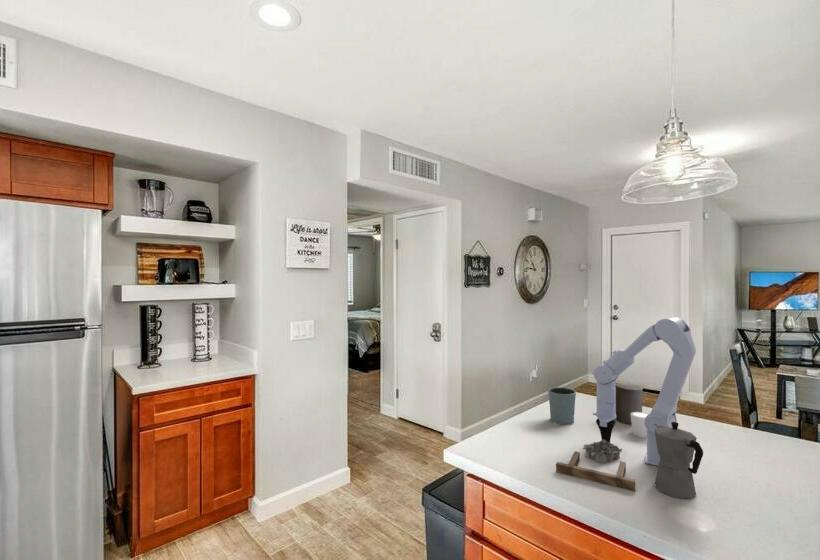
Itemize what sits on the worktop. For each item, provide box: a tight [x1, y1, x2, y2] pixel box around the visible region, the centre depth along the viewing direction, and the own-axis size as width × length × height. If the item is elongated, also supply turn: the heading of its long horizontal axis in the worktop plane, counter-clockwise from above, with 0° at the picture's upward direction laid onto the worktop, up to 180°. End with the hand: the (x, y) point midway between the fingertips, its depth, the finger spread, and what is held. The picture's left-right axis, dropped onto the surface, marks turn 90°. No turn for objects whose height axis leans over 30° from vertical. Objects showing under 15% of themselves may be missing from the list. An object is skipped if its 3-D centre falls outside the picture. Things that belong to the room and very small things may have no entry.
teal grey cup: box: [547, 386, 577, 426], centre depth 159 cm, size 10×10×12 cm
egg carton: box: [582, 439, 623, 464], centre depth 128 cm, size 11×8×4 cm
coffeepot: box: [654, 421, 704, 500], centre depth 106 cm, size 15×9×18 cm, turn 6°
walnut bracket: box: [555, 451, 636, 492], centre depth 117 cm, size 20×12×2 cm, turn 58°
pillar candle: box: [615, 382, 644, 426], centre depth 159 cm, size 10×10×15 cm
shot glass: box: [631, 411, 649, 438], centre depth 146 cm, size 7×7×7 cm
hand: (606, 441), depth 136 cm, fingers closed
